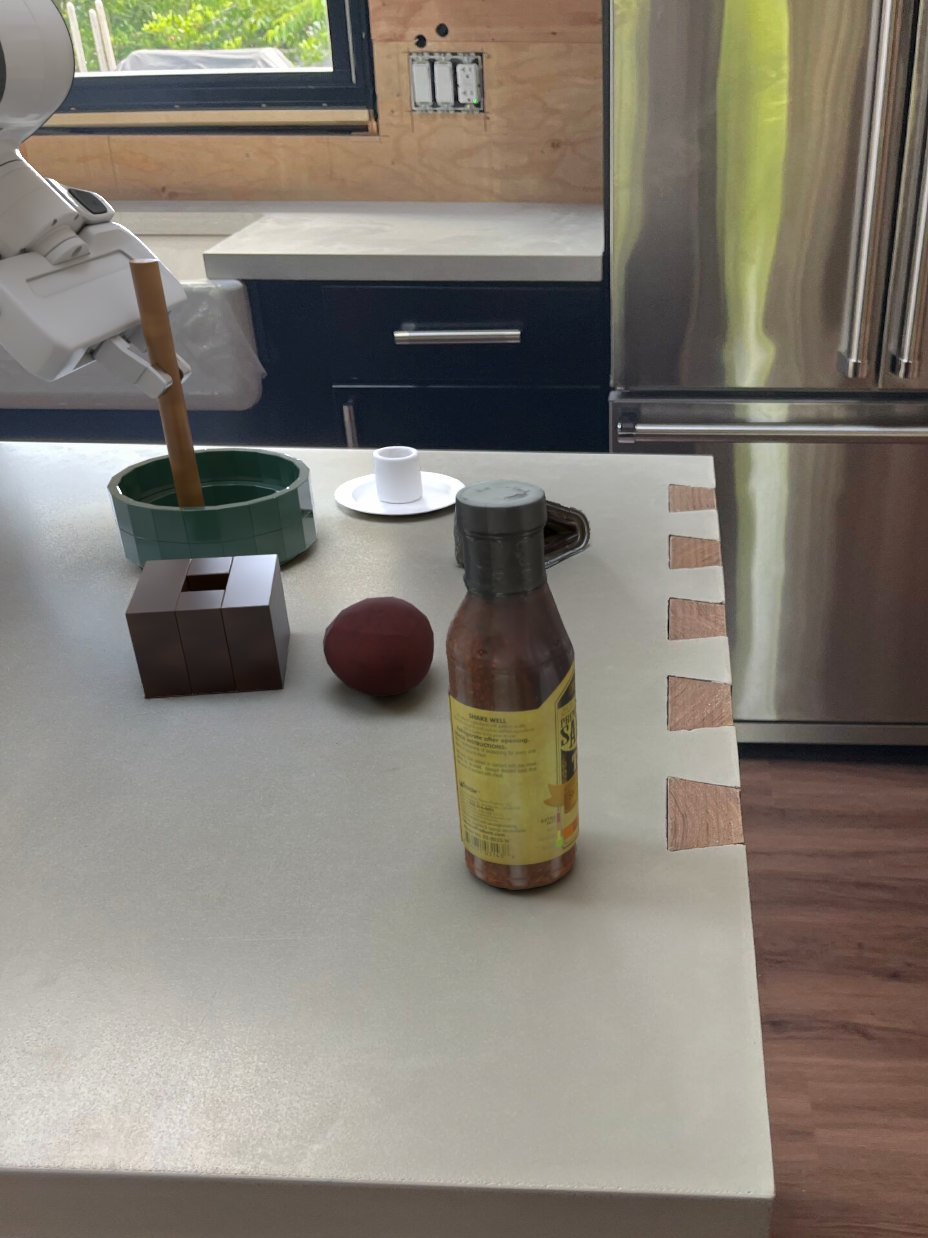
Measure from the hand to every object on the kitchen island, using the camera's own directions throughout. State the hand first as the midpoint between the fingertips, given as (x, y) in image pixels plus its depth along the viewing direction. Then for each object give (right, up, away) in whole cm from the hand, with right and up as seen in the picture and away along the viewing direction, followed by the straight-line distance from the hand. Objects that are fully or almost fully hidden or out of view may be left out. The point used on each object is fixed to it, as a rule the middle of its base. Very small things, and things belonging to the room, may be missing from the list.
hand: (175, 385), depth 91 cm
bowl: (+1, -11, +8) cm, 13 cm away
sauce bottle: (+29, -36, -28) cm, 54 cm away
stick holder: (+7, -23, -9) cm, 25 cm away
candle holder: (+14, -4, +19) cm, 24 cm away
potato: (+18, -25, -12) cm, 33 cm away
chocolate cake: (+25, -11, +8) cm, 29 cm away
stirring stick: (-1, -9, +6) cm, 11 cm away
